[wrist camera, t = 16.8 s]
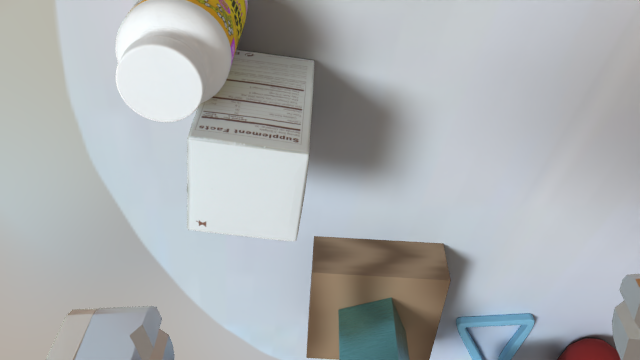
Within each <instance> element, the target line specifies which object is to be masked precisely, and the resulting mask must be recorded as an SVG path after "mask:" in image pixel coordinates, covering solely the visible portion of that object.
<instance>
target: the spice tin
mask: <svg viewBox="0 0 640 360" xmlns="http://www.w3.org/2000/svg"><path fill="white" fill-rule="evenodd" d="M338 316H339V360H410V359H409V352H408V344H407V336H406V331H405V328H404V326H403V324H402V321H401V319H400V316H399V314H398V312H397V309H396V307H395V304H394V302H393V300H392V297H391V298H387V299H382V300H378V301H374V302H369V303H365V304H361V305H357V306H352V307H348V308H344V309H339V310H338Z"/></svg>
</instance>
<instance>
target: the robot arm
mask: <svg viewBox="0 0 640 360" xmlns="http://www.w3.org/2000/svg"><path fill="white" fill-rule="evenodd" d="M620 292H621V294H622V296H623V299H624V301H623V302H622V303H620V304H619V305H618V306H617V307H616V308H615V310H614V314H613V319H612V328H613V338H614V342H615V346H616V349H617V352H618V354H619V356H620V359H621V360H640V274H630V275H626V277H625V278H624V279H623V280H622V283H621V287H620ZM161 320H162V318H161V315H160V313H159V311H158V309H157V307H154V306H143V307H118V308H98V309H77V310H72V311H71V312H70V313H69V314H68V315H67V316H66V317H65V319H64V321H63V323H62V325H61V328H60V330H59V332H58V334H57V336H56V338H55V341H54V343H53V345H52V347H51V349H50V352H49V354H48V356H47V358H46V360H174V351H173V345H172V342H171V339H170V337H169V335H168V334H167V333H165V332H164V331H162V330H161V329H159V328H160V324H161Z"/></svg>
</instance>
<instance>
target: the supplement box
mask: <svg viewBox="0 0 640 360" xmlns="http://www.w3.org/2000/svg"><path fill="white" fill-rule="evenodd" d="M313 81H314V61H313V60H307V59H301V58H293V57H286V56H278V55H271V54H264V53H256V52H249V51H241V50H236V52H235V55H234V58H233V61H232V65H231V68H230V71H229V74H228V77H227V79H226V81H225V83H224V85H223V86H222V88H221V89H220V90H219V91H218V93H217V94H215V95H214V96H213V97H212V98H210V99H209V100H207V101H205V102H203V103H201V104H200V105H199V106H198V109H197V111H196V114H195V117H194V120H193V123H192V126H191V129H190V132H189V135H188V138H187V229H188V230H195V231H202V232H210V233H218V234H227V235H236V236H246V237H254V238H264V239H272V240H281V241H296V239H297V235H298V230H299V224H300V218H301V213H302V207H303V201H304V194H305V187H306V180H307V172H308V162H309V148H310V131H311V117H312V102H313Z"/></svg>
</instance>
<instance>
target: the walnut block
mask: <svg viewBox="0 0 640 360" xmlns="http://www.w3.org/2000/svg"><path fill="white" fill-rule="evenodd" d="M450 281H451V280H450V275H449V270H448V265H447V260H446V255H445V250H444V245H443V244H441V243H424V242H406V241H389V240H371V239H353V238H336V237H318V236H314V246H313V261H312V276H311V290H310V305H309V320H308V339H307V358H320V359H339V316H338V310H339V309H344V308H348V307H352V306H357V305H361V304H365V303H369V302H374V301H378V300H382V299H387V298H391V297H392V300H393V302H394V304H395V307H396V309H397V312H398V314H399V316H400V319H401V321H402V324H403V326H404V328H405V331H406V336H407V344H408V352H409V359H410V360H429V358H430V355H431V351H432V347H433V344H434V340H435V336H436V333H437V329H438V325H439V322H440V318H441V314H442V310H443V307H444V303H445V299H446V296H447V292H448V288H449V285H450Z"/></svg>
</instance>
